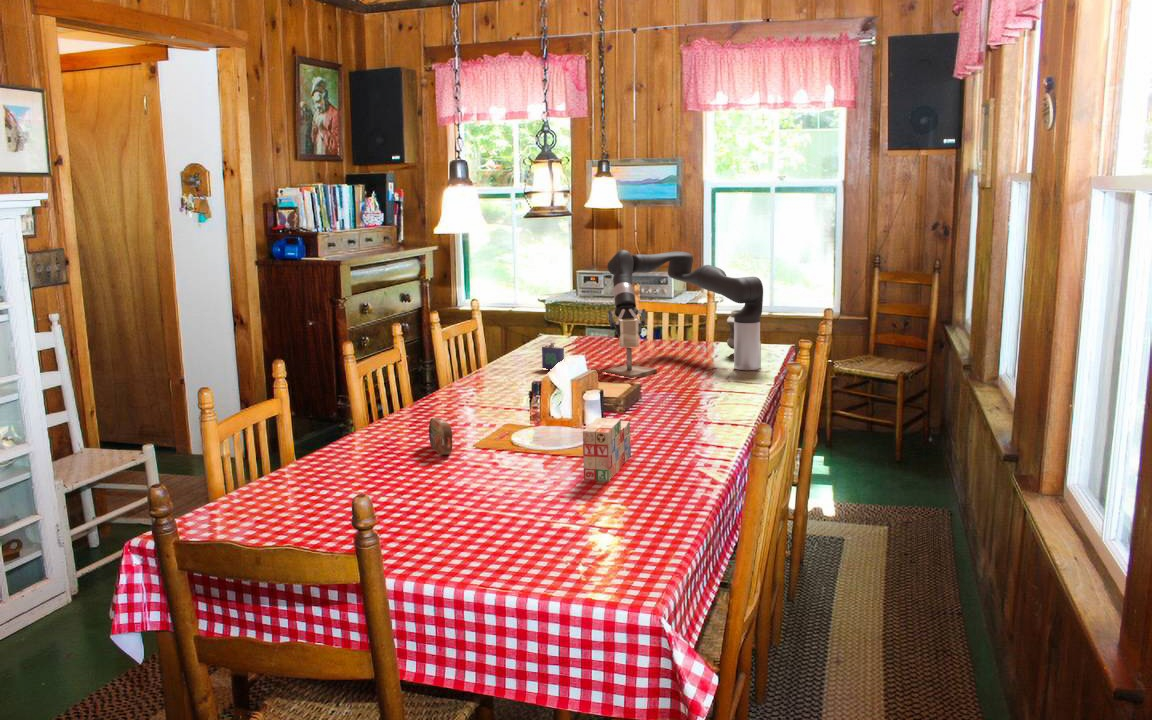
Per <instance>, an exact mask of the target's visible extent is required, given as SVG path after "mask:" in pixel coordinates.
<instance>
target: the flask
mask: <svg viewBox="0 0 1152 720" xmlns="http://www.w3.org/2000/svg"><path fill="white" fill-rule="evenodd" d="M555 344H556V343H555V342H554V341H553V342H552V341H551V342H549V344H546V345H542V346H541V359H542V360H541V361H542V363H541V367H542V368H546V369H548V370H550V369H552V368H553V367H554V366H555V365H556V364H557V363H558V362H560V361H562V360H563V359H564V360H565V348H564V347H563V346H555ZM542 368H541V369H542Z"/></svg>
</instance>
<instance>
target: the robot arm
mask: <svg viewBox="0 0 1152 720" xmlns="http://www.w3.org/2000/svg"><path fill="white" fill-rule="evenodd" d="M667 262H668V266H667V275H668V277H669V278H671V279H673V280H676V281H679V282H684V283H688V284H691V285H694V286H697V287H699V288H701V289H703V290H705V291H709V292H712V293H715V294H717V295H721V296H723V297H725V298H727V299H729V300H730V301H732V302H734V303H737V304H744V306H743V307H742V308H741V309H739V310H740V311H739V312H737V313H736V314H735V315H734V349H733V353H734V358H733V368H734V369H736V370H740V371H756V370H759V369H760V367H762V363H761V362H762V341H761V316H762V314H763V303H764V285H763V282H762V280H761V279H760V278H759V277H757V276H745V277H731V276H727V274H726V272H725V271H724V270H723V269H721V268H720V267H717V266H715V265H714V266H713V265H710V264H705V265H702V266H700V267H699V266H698V267H697V268H696V269H695V270H693V271H692V269H693V263H694V256H693V255H692V254H691V253H689V252H686V251H681V250H680V251H676V250H675V251H666V252H660V253H654V254H650V253H649V254H643V253H642V254H640V253H638V254H631V252H629V251H628V250H626V249H620V250H618V251H617V252H616V253H615V255H614V256H612V257H611V259H610V260H608V262H607V270H608V272H609V273H610V274H611V275H612V276H613V278H612V285H613V297H614V308H615V309H614V310H613V311H612V310H607V319H608V323H609V327H610V328H615V334H616V335H617V336H618V338H619V337H620V334H621V333H620V325H619V319H637V320H638V335H639V337H640V336H641V335H642V332H643V331H642V330H643V329H642V327H644V326H646V319H647V318H646V309H645V308H642V309H640V310H639V309H638V308H637V303H636V302H637V301H636V293H635V289H634V285H633V279H632V277H633V274H637V273H638V274H639V273H640V274H642V273H643V274H646V273H651V272H654V271H656V270H657V269H659V268H660V267H661V266H663V265H664V264H666V263H667ZM638 315H639V316H640V318H641V320H640V319H639V318H638ZM615 316H616V318H617V320H616V321H614V317H615Z"/></svg>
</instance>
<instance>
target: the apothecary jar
mask: <svg viewBox="0 0 1152 720" xmlns="http://www.w3.org/2000/svg"><path fill="white" fill-rule="evenodd" d="M740 310H741V309H734V310H731V312H730V315H729V316H728V317H727V319H726V322H727V324H728V325H729V331H730V332H729V334H730V335H729V337H728V339H727V341H726V345H727V346H728V347H729V348H730V349H732V350H734V315H735V314H736V313H737V312H739V311H740ZM730 356H731V357H734V352H733V353H731V354H730V355H729V357H730ZM731 357H730V358H731Z"/></svg>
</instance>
